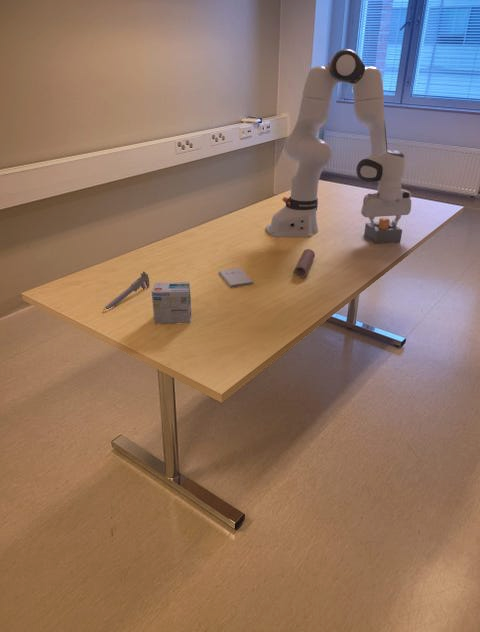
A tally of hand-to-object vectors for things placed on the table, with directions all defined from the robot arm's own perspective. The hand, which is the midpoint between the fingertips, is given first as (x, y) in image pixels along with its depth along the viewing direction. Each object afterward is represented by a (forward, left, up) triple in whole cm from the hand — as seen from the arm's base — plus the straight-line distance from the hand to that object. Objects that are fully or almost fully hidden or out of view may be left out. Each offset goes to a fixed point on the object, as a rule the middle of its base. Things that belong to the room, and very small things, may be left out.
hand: (383, 226), depth 208 cm
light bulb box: (-92, -51, -6) cm, 105 cm away
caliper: (-105, -35, -6) cm, 111 cm away
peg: (0, 0, -5) cm, 5 cm away
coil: (-42, -23, -6) cm, 48 cm away
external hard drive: (-68, -27, -6) cm, 73 cm away
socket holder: (0, 0, -5) cm, 5 cm away
